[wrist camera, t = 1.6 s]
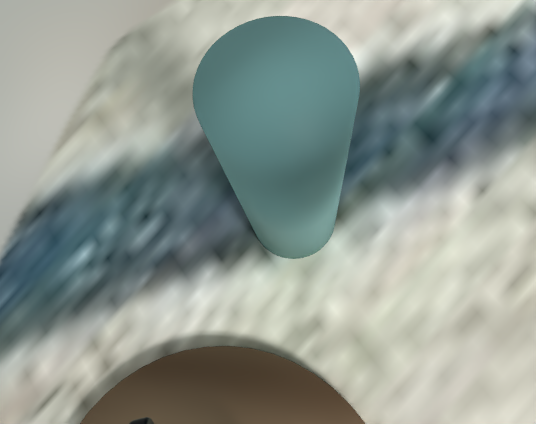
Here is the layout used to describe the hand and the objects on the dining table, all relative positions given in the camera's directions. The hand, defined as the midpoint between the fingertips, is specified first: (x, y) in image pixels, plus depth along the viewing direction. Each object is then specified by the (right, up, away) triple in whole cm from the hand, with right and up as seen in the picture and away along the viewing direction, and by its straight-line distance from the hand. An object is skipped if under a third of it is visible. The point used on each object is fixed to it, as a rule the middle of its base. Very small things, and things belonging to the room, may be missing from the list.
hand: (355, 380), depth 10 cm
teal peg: (0, +3, +15) cm, 15 cm away
